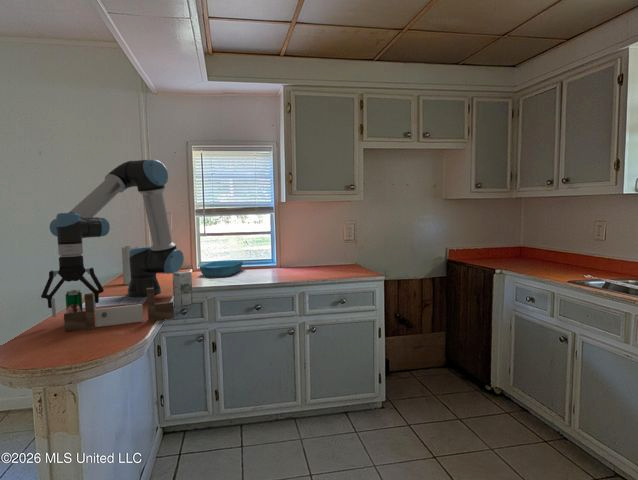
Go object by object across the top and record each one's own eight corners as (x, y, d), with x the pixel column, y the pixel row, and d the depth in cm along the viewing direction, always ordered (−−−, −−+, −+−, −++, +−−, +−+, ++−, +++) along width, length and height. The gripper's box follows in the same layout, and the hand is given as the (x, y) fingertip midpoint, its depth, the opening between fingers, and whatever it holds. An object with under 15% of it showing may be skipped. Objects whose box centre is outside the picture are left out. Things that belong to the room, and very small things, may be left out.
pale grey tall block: (121, 284, 226) (119, 246, 224) (129, 282, 232) (127, 245, 230) (131, 285, 224) (129, 247, 222) (139, 283, 229) (137, 246, 228)
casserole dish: (215, 269, 279) (214, 259, 279) (246, 269, 278) (246, 259, 277) (194, 278, 243) (194, 267, 242) (230, 278, 241) (230, 266, 240)
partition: (66, 330, 139) (63, 295, 138) (173, 316, 154) (171, 285, 153) (64, 332, 136) (62, 297, 135) (174, 318, 151) (172, 286, 150)
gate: (143, 319, 149) (142, 303, 148) (143, 321, 146) (142, 305, 146) (96, 325, 142) (95, 309, 142) (96, 327, 140) (95, 310, 139)
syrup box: (185, 302, 177) (183, 270, 176) (193, 304, 174) (191, 271, 172) (173, 305, 173) (172, 272, 172) (181, 307, 169) (179, 273, 168)
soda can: (66, 326, 144) (64, 293, 143) (68, 322, 149) (66, 290, 148) (82, 324, 146) (80, 291, 145) (84, 320, 151) (82, 289, 150)
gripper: (28, 259, 137) (32, 321, 139) (108, 254, 147) (111, 312, 149) (32, 256, 144) (37, 316, 145) (109, 252, 154) (112, 308, 156)
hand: (74, 314), depth 147 cm, fingers open, 12 cm apart
